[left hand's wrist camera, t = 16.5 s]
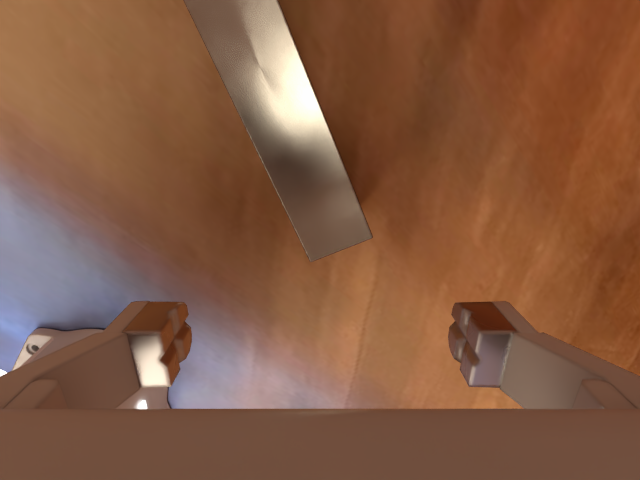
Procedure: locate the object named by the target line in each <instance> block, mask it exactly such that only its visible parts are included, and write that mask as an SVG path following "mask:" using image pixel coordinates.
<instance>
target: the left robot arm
mask: <svg viewBox="0 0 640 480" xmlns="http://www.w3.org/2000/svg"><path fill="white" fill-rule="evenodd" d="M188 315H189V314H188V310H187V305H186V304H185V303H184V302H150V301H136V302H131V303H130V304H129V305H128V306H127V307H126V308H125V309H124V310H123V311H122V312H121V313H120V314H119V315H118V316H117V318H116V319H115V320H114V321H113V322H112V323H111V324H110V325H109V326H108V327H107V328H106V329H105V330H100V329H81V330H74V331H59V330H54V329H48V328H38V329H36V330H34V331H33V332H32V333H31V334H30V335H29V336H28V338H27V340H26V342H25V344H24V346H23V348H22V350H21V352H20V354H19V356H18V359H17V361H16V363H15V365H14V367H13V369H12V371H10V372H8V373H6V372H4V371H2V370H0V480H640V376H638V375H636V374H634V373H632V372H629V371H627V370H625V369H623V368H620V367H618V366H616V365H614V364H612V363H609V362H607V361H605V360H603V359H601V358H598V357H596V356H594V355H592V354H590V353H587V352H585V351H583V350H581V349H579V348H576V347H574V346H572V345H570V344H568V343H565V342H563V341H561V340H559V339H557V338H554V337H552V336H550V335H548V334H545V333H538V332H537V331H536V330H535V329H534V328H533V327H532V326H531V325H530V324H529V323H528V322H527V321H526V320H525V318H524V317H523V316H522V315H521V314H520V313H519V312H518V311H517V310H516V309H515V308H514V307H513V306H512V305H511V304H510V303H508V302H506V301H496V302H460V303H455V304H454V306H453V309H452V314H451V315H452V316H453V318H454V320H455V322H454V323H453V324H452V325H451V326H450V327H449V334H448V340H449V348H450V351H451V353H452V355H453V357H454V359H456V360H457V361H459V362H460V363H461V366H460V371H461V373H462V374H463V376H464V378H465V380H466V382H467V384H468V386H469V387H496V388H500V389H501V390H502V391H503V392H504V393H506V394H507V395H508V396H509V397H511V398H512V399H513V400H514V401H516V402H517V403H518V404H519V405H521V406H522V407H523V408H524V409H170V407H169V405H168V403H167V392H168V387H171V386H172V384H173V382H174V380H175V378H176V376H177V374H178V373H179V371H180V366H179V363H180V362H181V361H183V360H184V359H186V357H187V355H188V353H189V351H190V347H191V342H192V333H191V327H190V326H189V325H188V324H187V323H186V322H185V320H186V318H187V316H188Z"/></svg>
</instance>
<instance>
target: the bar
mask: <svg viewBox="0 0 640 480" xmlns="http://www.w3.org/2000/svg"><path fill="white" fill-rule="evenodd" d="M184 2H185V4H186V7H187V9H188V11H189V13H190V15H191V17H192V19H193V21H194V23H195V25H196V27H197V29H198V31H199V33H200V35H201V37H202V40H203V42H204V44H205V46H206V48H207V50H208V52H209V54H210V56H211V58H212V60H213V62H214V64H215V66H216V68H217V70H218V73H219V75H220V77H221V79H222V81H223V83H224V85H225V87H226V89H227V91H228V93H229V95H230V97H231V99H232V101H233V103H234V106H235V108H236V110H237V112H238V114H239V116H240V118H241V120H242V122H243V124H244V126H245V128H246V130H247V132H248V134H249V136H250V139H251V141H252V143H253V145H254V147H255V149H256V151H257V153H258V155H259V157H260V159H261V161H262V163H263V165H264V167H265V169H266V172H267V174H268V176H269V178H270V180H271V182H272V184H273V186H274V188H275V190H276V192H277V194H278V196H279V198H280V200H281V202H282V204H283V207H284V209H285V211H286V213H287V215H288V217H289V219H290V221H291V223H292V225H293V227H294V229H295V231H296V233H297V235H298V237H299V240H300V242H301V244H302V246H303V248H304V250H305V252H306V254H307V256H308V258H309V260H310V262H313V261H315V260H318V259H320V258H323V257H325V256H328V255H330V254H333V253H336V252H338V251H341V250H343V249H346V248H348V247H351V246H353V245H356V244H358V243H361V242H364V241H366V240H369V239H371V238H373V236H372V233H371V231H370V228H369V226H368V223H367V221H366V218H365V216H364V213H363V211H362V208H361V206H360V203H359V201H358V198H357V196H356V193H355V191H354V188H353V186H352V183H351V181H350V178H349V176H348V173H347V171H346V168H345V166H344V163H343V161H342V158H341V156H340V153H339V151H338V148H337V146H336V143H335V141H334V138H333V136H332V133H331V131H330V128H329V126H328V123H327V121H326V118H325V116H324V113H323V111H322V108H321V106H320V103H319V101H318V99H317V96H316V94H315V91H314V89H313V86H312V84H311V81H310V79H309V76H308V74H307V71H306V69H305V66H304V64H303V61H302V59H301V56H300V54H299V51H298V49H297V46H296V44H295V41H294V39H293V36H292V34H291V31H290V29H289V26H288V24H287V21H286V19H285V16H284V14H283V11H282V9H281V6H280V4H279V1H278V0H184Z"/></svg>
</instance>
